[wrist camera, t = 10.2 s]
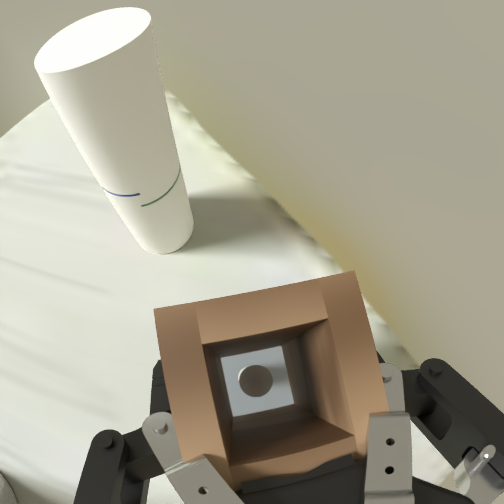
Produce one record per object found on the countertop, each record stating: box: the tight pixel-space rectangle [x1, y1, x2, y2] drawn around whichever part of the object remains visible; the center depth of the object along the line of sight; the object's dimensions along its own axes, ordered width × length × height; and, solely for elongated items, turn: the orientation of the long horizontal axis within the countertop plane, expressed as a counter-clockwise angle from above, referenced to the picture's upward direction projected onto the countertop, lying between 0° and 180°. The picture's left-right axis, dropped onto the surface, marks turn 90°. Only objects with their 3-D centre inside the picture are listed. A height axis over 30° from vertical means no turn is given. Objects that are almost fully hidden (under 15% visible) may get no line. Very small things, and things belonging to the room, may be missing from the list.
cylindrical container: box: [34, 7, 194, 254], centre depth 24 cm, size 7×7×25 cm
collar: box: [154, 271, 389, 494], centre depth 13 cm, size 6×6×10 cm
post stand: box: [221, 346, 294, 417], centre depth 24 cm, size 12×12×14 cm
